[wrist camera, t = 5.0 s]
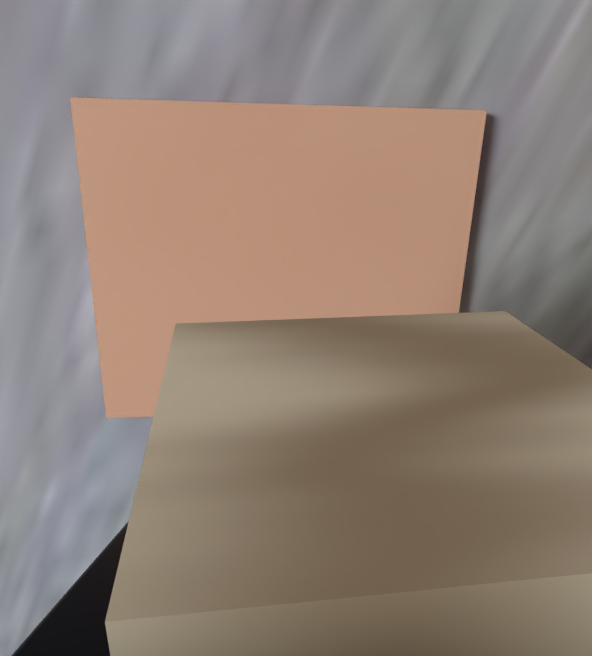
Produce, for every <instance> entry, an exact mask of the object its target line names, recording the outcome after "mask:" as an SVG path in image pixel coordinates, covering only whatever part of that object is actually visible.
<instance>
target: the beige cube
mask: <svg viewBox="0 0 592 656" xmlns="http://www.w3.org/2000/svg"><path fill="white" fill-rule="evenodd" d="M105 626H106V632H107V638H108V645H109V651H110V656H592V369H591V368H589V367H588V366H586V365H585V364H583V363H582V362H580V361H579V360H577V359H576V358H574V357H573V356H571V355H570V354H568V353H567V352H565V351H564V350H562V349H561V348H559V347H558V346H556V345H555V344H553V343H552V342H550V341H549V340H547V339H546V338H544V337H543V336H541V335H540V334H538V333H537V332H535V331H534V330H532V329H531V328H529V327H528V326H527V325H525V324H524V323H522V322H521V321H519V320H518V319H516V318H515V317H513V316H512V315H510V314H509V313H507V312H506V311H496V312H469V313H443V314H416V315H390V316H363V317H337V318H310V319H284V320H257V321H231V322H204V323H177V324H175V328H174V333H173V337H172V341H171V345H170V349H169V354H168V358H167V362H166V366H165V371H164V375H163V379H162V383H161V387H160V392H159V396H158V400H157V404H156V409H155V413H154V417H153V421H152V425H151V430H150V434H149V438H148V442H147V446H146V451H145V455H144V459H143V463H142V468H141V472H140V476H139V480H138V484H137V489H136V493H135V497H134V501H133V506H132V510H131V514H130V518H129V522H128V527H127V531H126V535H125V539H124V544H123V548H122V552H121V556H120V560H119V565H118V569H117V573H116V577H115V581H114V586H113V590H112V594H111V598H110V603H109V607H108V611H107V615H106V619H105Z"/></svg>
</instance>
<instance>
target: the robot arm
mask: <svg viewBox="0 0 592 656" xmlns="http://www.w3.org/2000/svg"><path fill="white" fill-rule="evenodd" d="M128 522H129V521H128ZM127 527H128V523H127V524H126V525H125V526H124V527H123V528H122V529H121V531H120V532H119V533H118V534H117V535H116V536H115V537H114V539H113V540H112V541H111V542H110V543H109V544H108V546H107V547H106V548H105V549H104V550H103V551H102V552H101V554H100V555H99V556H98V557H97V558H96V559H95V560H94V562H93V563H92V564H91V565H90V566H89V567H88V568H87V570H86V571H85V572H84V573H83V574H82V575H81V577H80V578H79V579H78V580H77V581H76V582H75V583H74V585H73V586H72V587H71V588H70V589H69V590H68V591H67V593H66V594H65V595H64V596H63V597H62V598H61V599H60V601H59V602H58V603H57V604H56V605H55V606H54V608H53V609H52V610H51V611H50V612H49V613H48V614H47V616H46V617H45V618H44V619H43V620H42V621H41V622H40V624H39V625H38V626H37V627H36V628H35V629H34V630H33V632H32V633H31V634H30V635H29V636H28V637H27V639H26V640H25V641H24V642H23V643H22V644H21V645H20V647H19V648H18V649H17V650H16V651H15V652H14V653H13V655H12V656H110V651H109V645H108V638H107V632H106V626H105V619H106V615H107V611H108V607H109V603H110V598H111V594H112V590H113V586H114V581H115V577H116V573H117V569H118V565H119V560H120V556H121V552H122V548H123V544H124V539H125V535H126V531H127Z"/></svg>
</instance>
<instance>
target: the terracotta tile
mask: <svg viewBox="0 0 592 656" xmlns="http://www.w3.org/2000/svg"><path fill="white" fill-rule="evenodd" d="M70 100H71V109H72V118H73V126H74V135H75V144H76V153H77V162H78V171H79V180H80V188H81V197H82V206H83V215H84V224H85V233H86V242H87V251H88V259H89V268H90V277H91V286H92V295H93V304H94V313H95V321H96V330H97V339H98V348H99V357H100V366H101V375H102V384H103V392H104V401H105V410H106V418H125V417H151V416H154V413H155V409H156V404H157V400H158V396H159V392H160V387H161V383H162V379H163V375H164V371H165V366H166V362H167V358H168V354H169V349H170V345H171V341H172V337H173V333H174V328H175V324H177V323H204V322H231V321H257V320H284V319H310V318H337V317H363V316H390V315H416V314H443V313H459V308H460V301H461V294H462V286H463V279H464V272H465V265H466V257H467V250H468V243H469V236H470V229H471V221H472V214H473V207H474V200H475V192H476V185H477V178H478V171H479V163H480V156H481V149H482V142H483V134H484V127H485V120H486V113H487V110H456V109H424V108H392V107H359V106H327V105H295V104H262V103H230V102H197V101H165V100H133V99H100V98H70Z"/></svg>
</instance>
